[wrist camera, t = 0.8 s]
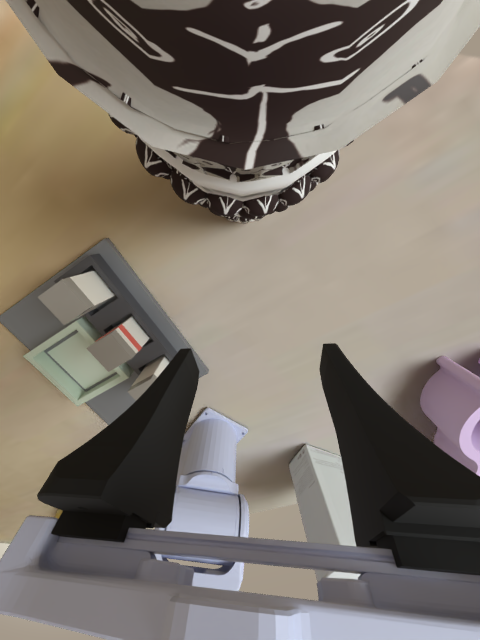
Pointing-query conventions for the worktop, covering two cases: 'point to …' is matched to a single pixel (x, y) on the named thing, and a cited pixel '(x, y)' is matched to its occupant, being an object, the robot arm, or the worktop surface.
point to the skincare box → (323, 501)
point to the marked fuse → (119, 344)
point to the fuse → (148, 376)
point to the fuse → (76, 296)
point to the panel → (95, 334)
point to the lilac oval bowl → (455, 411)
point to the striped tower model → (248, 82)
